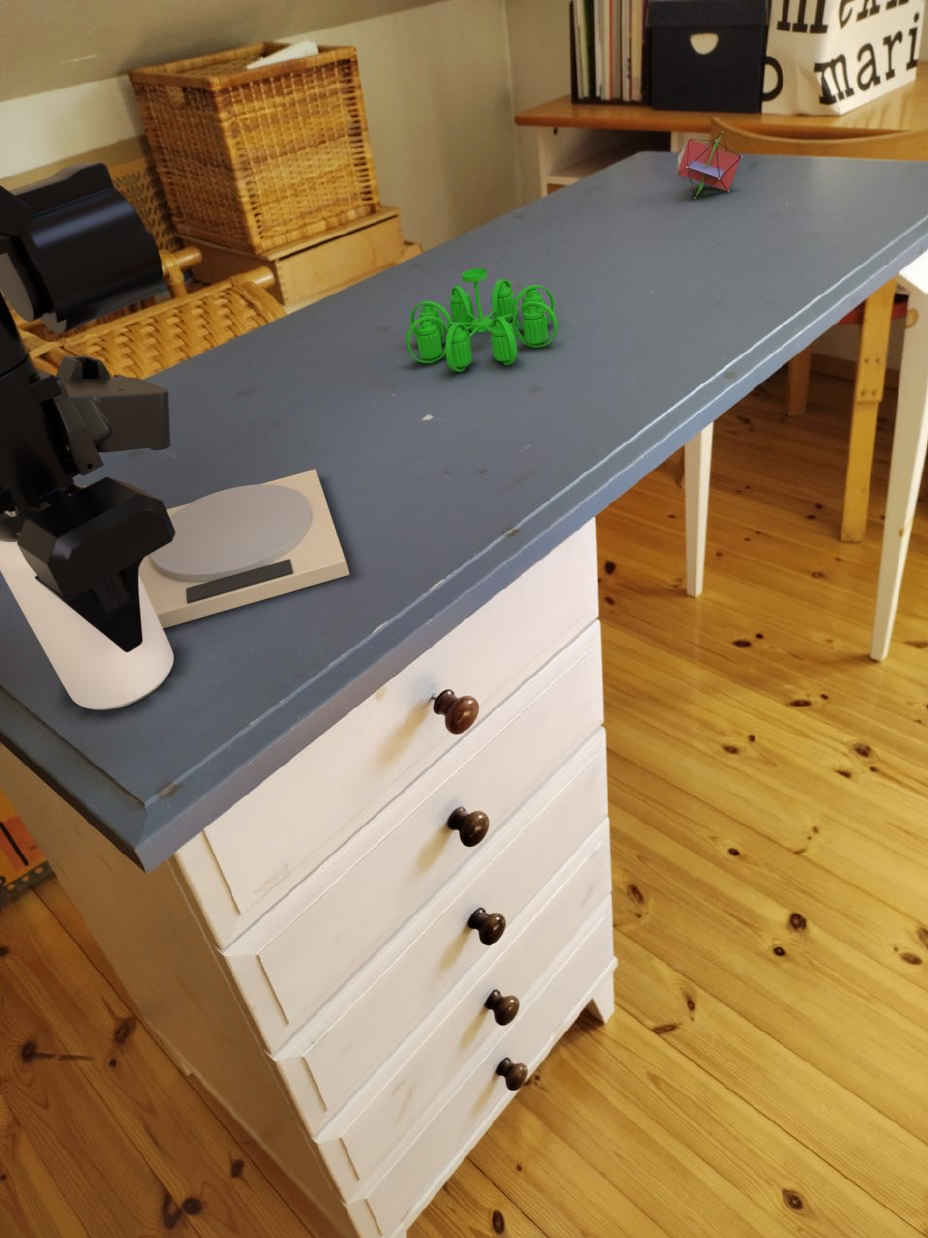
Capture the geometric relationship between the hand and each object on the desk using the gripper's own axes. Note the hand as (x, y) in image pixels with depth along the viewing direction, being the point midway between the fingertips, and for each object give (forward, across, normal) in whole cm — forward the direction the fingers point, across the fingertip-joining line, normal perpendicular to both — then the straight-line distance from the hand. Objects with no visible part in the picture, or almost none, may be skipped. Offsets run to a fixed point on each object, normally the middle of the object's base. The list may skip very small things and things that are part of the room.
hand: (97, 620), depth 55 cm
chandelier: (+5, +14, -47) cm, 50 cm away
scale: (+4, +6, -12) cm, 14 cm away
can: (+5, 0, 0) cm, 5 cm away
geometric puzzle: (+5, +20, -95) cm, 97 cm away
